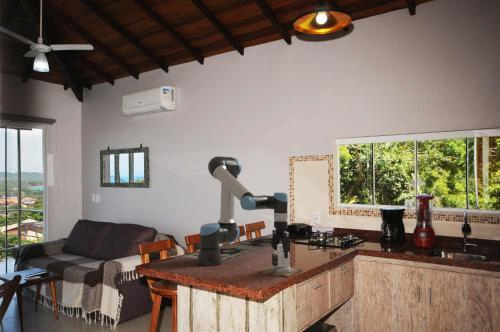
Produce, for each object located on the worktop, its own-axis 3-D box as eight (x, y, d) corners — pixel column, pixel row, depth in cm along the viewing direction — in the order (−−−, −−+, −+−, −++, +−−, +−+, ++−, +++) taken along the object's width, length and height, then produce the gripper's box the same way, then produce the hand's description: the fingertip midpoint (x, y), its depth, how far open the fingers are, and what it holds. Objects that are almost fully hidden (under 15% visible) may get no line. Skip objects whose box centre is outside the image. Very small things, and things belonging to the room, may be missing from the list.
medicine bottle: (271, 265, 202) (271, 243, 203) (283, 264, 205) (283, 242, 206) (277, 267, 196) (277, 245, 196) (289, 266, 198) (289, 244, 199)
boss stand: (258, 273, 197) (258, 267, 197) (274, 266, 212) (274, 261, 213) (288, 277, 188) (288, 271, 188) (302, 270, 203) (302, 265, 203)
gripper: (297, 222, 194) (297, 265, 193) (276, 218, 212) (276, 258, 211) (285, 222, 190) (285, 267, 189) (265, 219, 209) (265, 259, 208)
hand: (280, 262), depth 200 cm, fingers open, 8 cm apart
